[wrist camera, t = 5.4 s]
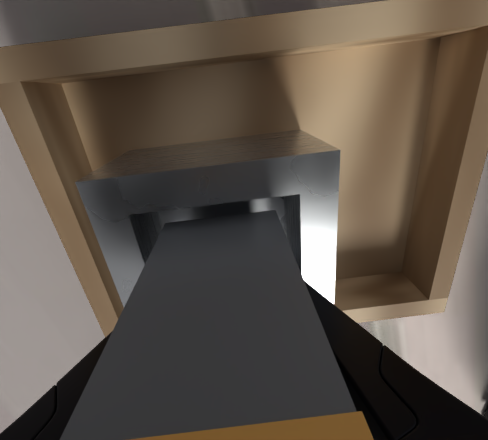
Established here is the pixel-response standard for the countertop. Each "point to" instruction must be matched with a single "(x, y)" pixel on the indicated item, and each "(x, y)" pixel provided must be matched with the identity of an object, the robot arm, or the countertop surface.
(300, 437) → the block
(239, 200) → the socket
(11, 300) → the countertop surface
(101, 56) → the oak box
